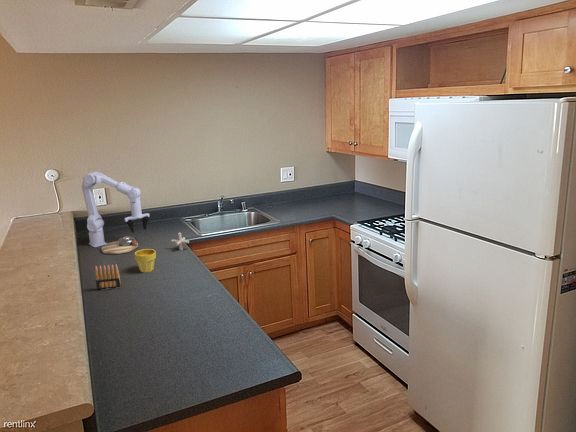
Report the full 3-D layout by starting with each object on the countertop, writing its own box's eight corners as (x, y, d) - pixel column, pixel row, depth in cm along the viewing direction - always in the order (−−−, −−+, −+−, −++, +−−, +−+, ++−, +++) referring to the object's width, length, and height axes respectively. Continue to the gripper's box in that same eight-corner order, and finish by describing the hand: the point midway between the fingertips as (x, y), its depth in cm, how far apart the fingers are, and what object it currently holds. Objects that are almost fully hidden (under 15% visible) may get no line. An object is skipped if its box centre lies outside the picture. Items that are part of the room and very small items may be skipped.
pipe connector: (185, 253, 255) (184, 236, 253) (169, 252, 257) (167, 235, 254) (192, 247, 265) (191, 230, 262) (176, 246, 267) (175, 230, 264)
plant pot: (161, 267, 235) (159, 250, 232) (148, 275, 226) (145, 256, 223) (146, 265, 239) (144, 247, 237) (132, 272, 230) (129, 254, 228)
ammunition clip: (121, 286, 214) (118, 262, 211) (120, 288, 212) (117, 264, 209) (97, 288, 212) (94, 265, 209) (96, 290, 210) (93, 266, 207)
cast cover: (116, 244, 268) (115, 237, 267) (131, 240, 274) (130, 234, 272) (123, 247, 261) (122, 241, 260) (137, 243, 267) (136, 237, 266)
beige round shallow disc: (96, 248, 265) (95, 241, 264) (128, 240, 279) (128, 233, 277) (110, 256, 251) (109, 249, 250) (143, 247, 264) (143, 240, 263)
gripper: (127, 212, 257) (129, 235, 261) (150, 207, 267) (153, 229, 270) (121, 210, 262) (124, 232, 266) (145, 205, 272) (147, 226, 275)
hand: (138, 230), depth 269 cm, fingers open, 7 cm apart
